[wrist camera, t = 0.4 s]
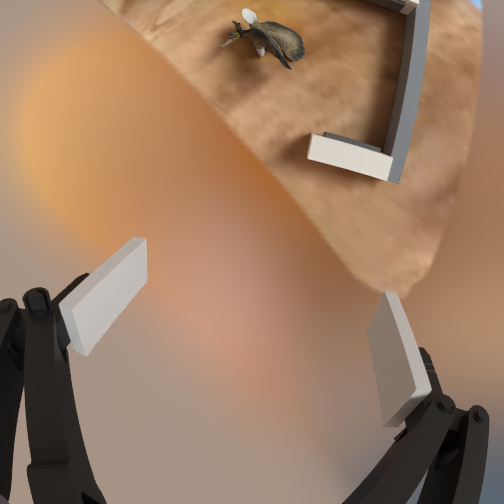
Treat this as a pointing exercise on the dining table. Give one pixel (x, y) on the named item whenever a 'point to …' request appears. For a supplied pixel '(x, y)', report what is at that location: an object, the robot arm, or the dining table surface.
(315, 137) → the rail
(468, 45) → the dining table surface
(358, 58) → the dining table surface
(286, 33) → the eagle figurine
